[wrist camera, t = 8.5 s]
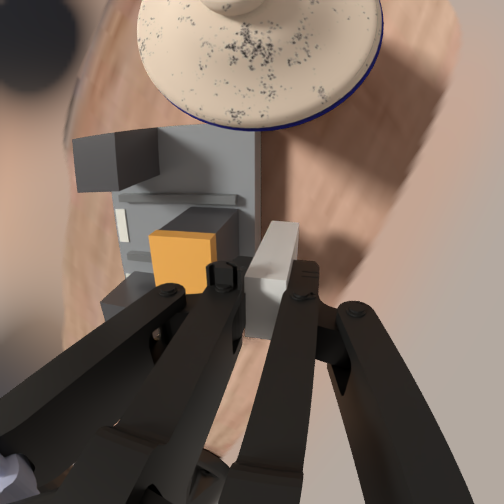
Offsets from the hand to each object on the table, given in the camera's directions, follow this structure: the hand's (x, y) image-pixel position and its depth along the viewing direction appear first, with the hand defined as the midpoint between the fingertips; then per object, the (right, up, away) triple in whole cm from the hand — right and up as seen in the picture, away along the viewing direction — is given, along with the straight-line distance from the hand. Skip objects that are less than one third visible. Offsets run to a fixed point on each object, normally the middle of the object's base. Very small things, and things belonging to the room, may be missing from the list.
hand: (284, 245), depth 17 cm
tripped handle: (-4, +1, +2) cm, 5 cm away
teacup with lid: (-1, +12, -1) cm, 12 cm away
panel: (-6, +2, +4) cm, 8 cm away
